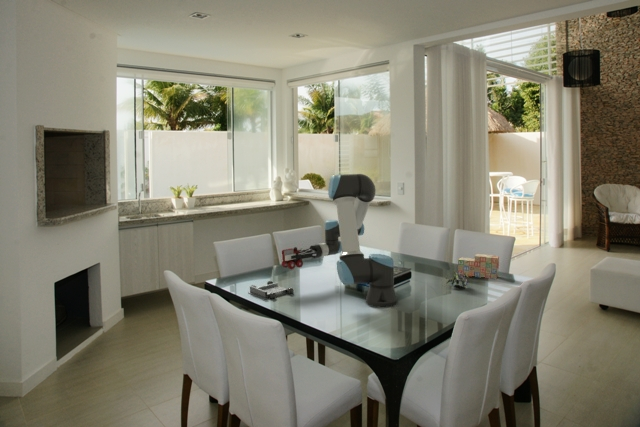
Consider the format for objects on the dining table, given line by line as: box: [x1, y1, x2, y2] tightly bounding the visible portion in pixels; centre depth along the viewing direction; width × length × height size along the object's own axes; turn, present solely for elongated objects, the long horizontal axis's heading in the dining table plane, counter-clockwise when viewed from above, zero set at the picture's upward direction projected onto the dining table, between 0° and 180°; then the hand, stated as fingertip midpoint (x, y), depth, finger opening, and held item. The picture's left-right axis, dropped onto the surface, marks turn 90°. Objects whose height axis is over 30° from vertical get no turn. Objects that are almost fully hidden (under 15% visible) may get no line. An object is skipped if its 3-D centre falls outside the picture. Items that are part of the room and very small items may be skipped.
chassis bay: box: [248, 280, 294, 300], centre depth 244 cm, size 20×18×4 cm
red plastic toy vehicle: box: [281, 246, 304, 270], centre depth 247 cm, size 7×12×10 cm, turn 130°
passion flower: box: [445, 269, 470, 289], centre depth 245 cm, size 11×11×12 cm
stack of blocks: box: [457, 253, 500, 280], centre depth 267 cm, size 21×6×12 cm, turn 61°
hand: (283, 257), depth 243 cm, fingers closed on red plastic toy vehicle, 3 cm apart
